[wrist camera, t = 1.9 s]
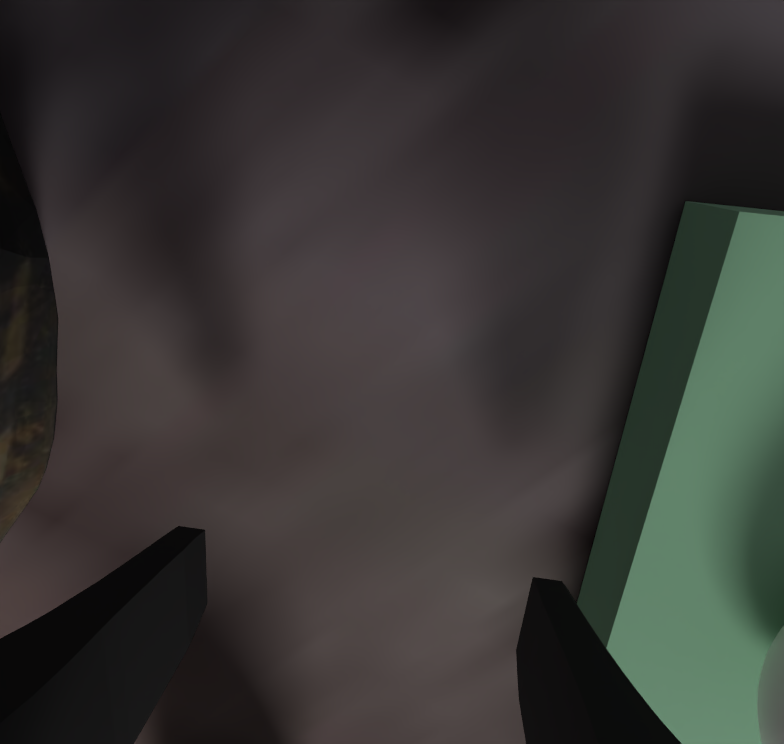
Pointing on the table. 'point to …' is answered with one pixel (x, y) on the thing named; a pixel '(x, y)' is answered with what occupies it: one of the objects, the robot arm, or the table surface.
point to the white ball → (772, 693)
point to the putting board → (701, 485)
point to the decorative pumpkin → (23, 343)
